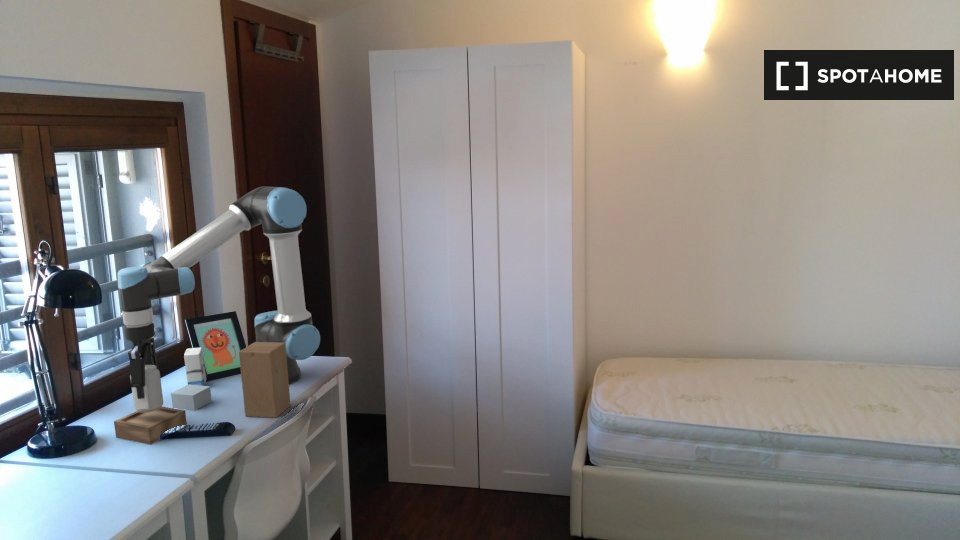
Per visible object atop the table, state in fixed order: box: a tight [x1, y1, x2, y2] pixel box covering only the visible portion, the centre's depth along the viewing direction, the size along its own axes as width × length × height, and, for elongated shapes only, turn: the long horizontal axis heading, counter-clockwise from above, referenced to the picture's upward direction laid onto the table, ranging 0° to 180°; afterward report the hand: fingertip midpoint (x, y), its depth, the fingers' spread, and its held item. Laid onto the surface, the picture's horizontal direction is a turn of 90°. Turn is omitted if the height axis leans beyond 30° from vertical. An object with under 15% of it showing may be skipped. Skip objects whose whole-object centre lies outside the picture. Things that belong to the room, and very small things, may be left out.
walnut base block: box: [113, 405, 188, 445], centre depth 210 cm, size 13×13×5 cm
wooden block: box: [238, 341, 291, 419], centre depth 221 cm, size 10×10×20 cm
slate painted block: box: [170, 384, 213, 411], centre depth 230 cm, size 8×8×5 cm
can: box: [129, 365, 164, 413], centre depth 208 cm, size 8×8×12 cm
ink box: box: [183, 347, 207, 386], centre depth 247 cm, size 9×5×12 cm, turn 13°
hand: (148, 402), depth 209 cm, fingers closed on can, 7 cm apart
